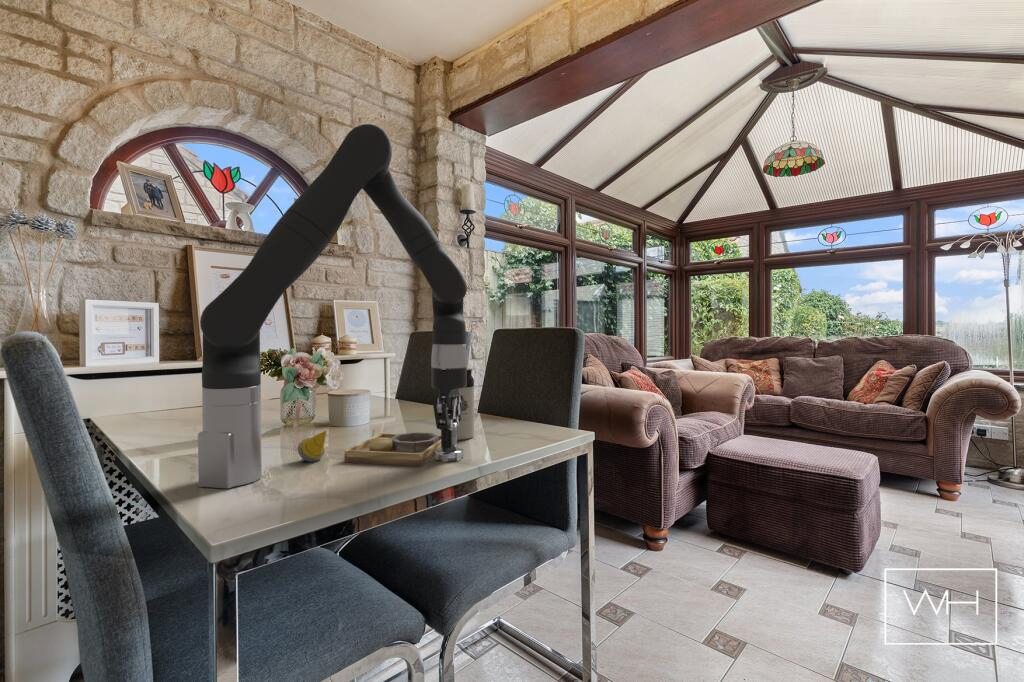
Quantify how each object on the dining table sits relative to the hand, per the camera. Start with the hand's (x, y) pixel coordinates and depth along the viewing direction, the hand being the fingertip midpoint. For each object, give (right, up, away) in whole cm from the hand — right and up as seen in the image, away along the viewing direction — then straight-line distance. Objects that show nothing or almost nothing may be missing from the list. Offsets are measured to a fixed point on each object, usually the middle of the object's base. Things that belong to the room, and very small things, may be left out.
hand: (449, 445), depth 103 cm
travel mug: (0, -3, +20) cm, 21 cm away
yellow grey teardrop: (-28, -3, -2) cm, 28 cm away
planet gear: (0, -3, 0) cm, 3 cm away
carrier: (-11, -3, +4) cm, 12 cm away
